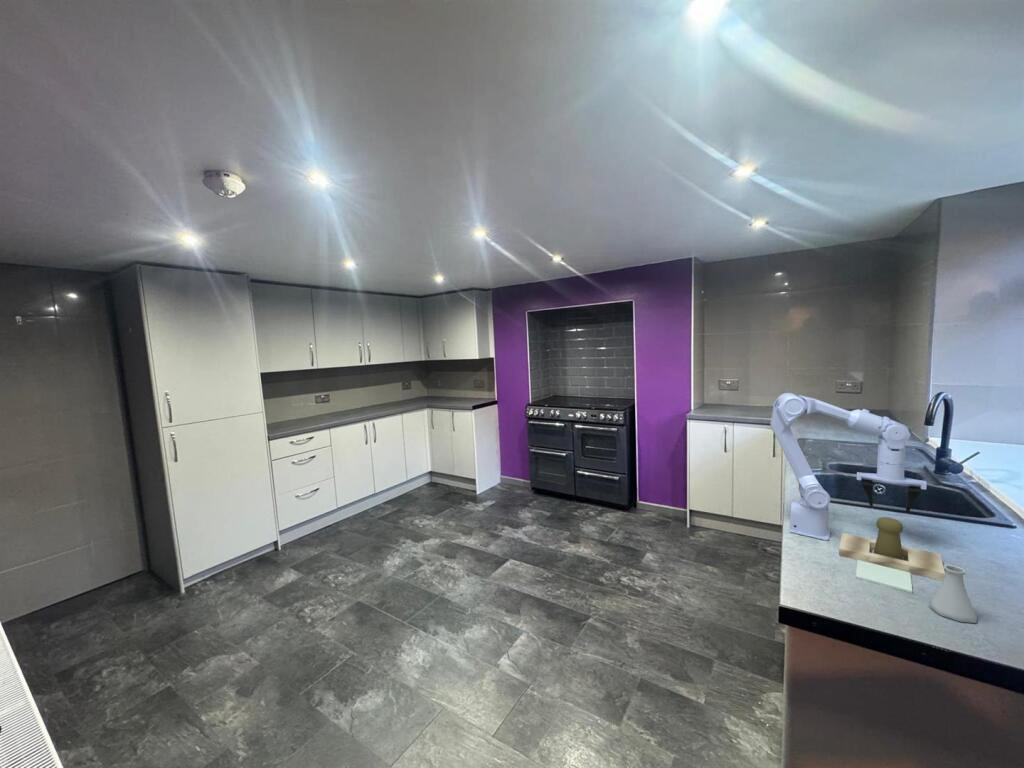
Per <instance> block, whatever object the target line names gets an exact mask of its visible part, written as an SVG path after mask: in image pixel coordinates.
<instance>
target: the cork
mask: <svg viewBox="0 0 1024 768" xmlns="http://www.w3.org/2000/svg"><path fill="white" fill-rule="evenodd" d="M876 527H877V529H878V532H877V537H876V539H875V540H876V545H875V549H873V553H874V554H878V555H883V556H887V557H891V558H896V559H900V560H904V556H903V553H902V546H903V545H902V541H901V533H902V532H903V531H904V530H903V529H904V527H903V524H902V522H901V521H899V520H898V519H895V518H892V517H886V516H885V517H884V516H883V517H879V518H878V519H876Z"/></svg>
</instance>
